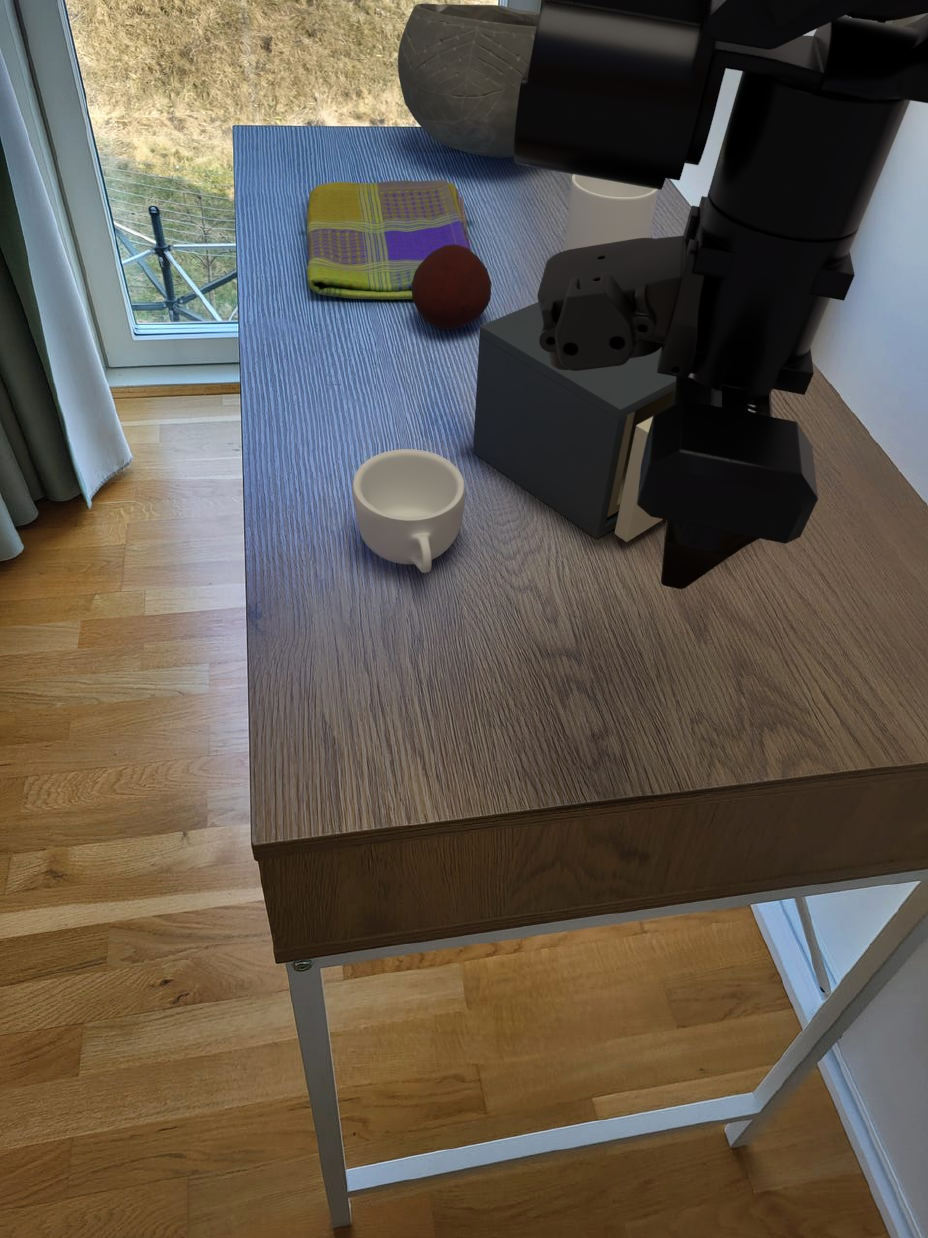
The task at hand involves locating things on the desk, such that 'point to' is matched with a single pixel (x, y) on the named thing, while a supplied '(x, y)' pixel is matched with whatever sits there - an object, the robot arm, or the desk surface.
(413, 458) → the teacup
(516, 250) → the desk surface
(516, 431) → the cabinet
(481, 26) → the bowl
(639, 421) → the drawer
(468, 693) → the desk surface
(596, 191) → the cup
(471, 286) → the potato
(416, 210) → the dish towel
